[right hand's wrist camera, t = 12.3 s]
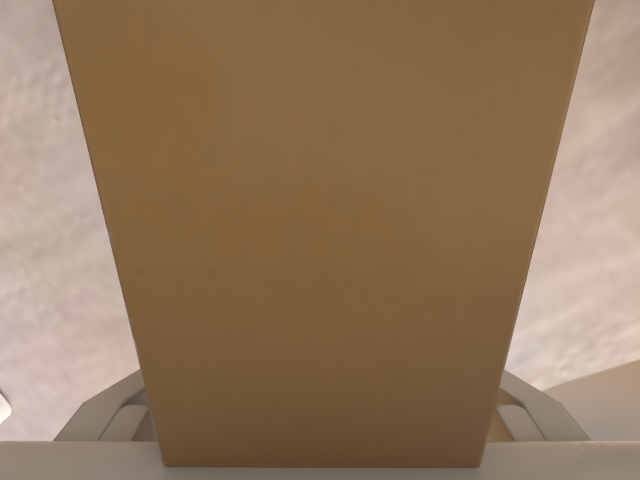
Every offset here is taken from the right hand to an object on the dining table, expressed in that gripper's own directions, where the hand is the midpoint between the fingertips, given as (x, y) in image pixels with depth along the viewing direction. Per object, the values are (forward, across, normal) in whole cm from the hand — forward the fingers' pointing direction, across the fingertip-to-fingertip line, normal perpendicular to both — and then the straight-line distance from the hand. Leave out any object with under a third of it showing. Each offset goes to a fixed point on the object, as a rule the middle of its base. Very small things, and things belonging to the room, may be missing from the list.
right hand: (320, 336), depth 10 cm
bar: (+3, 0, -10) cm, 10 cm away
